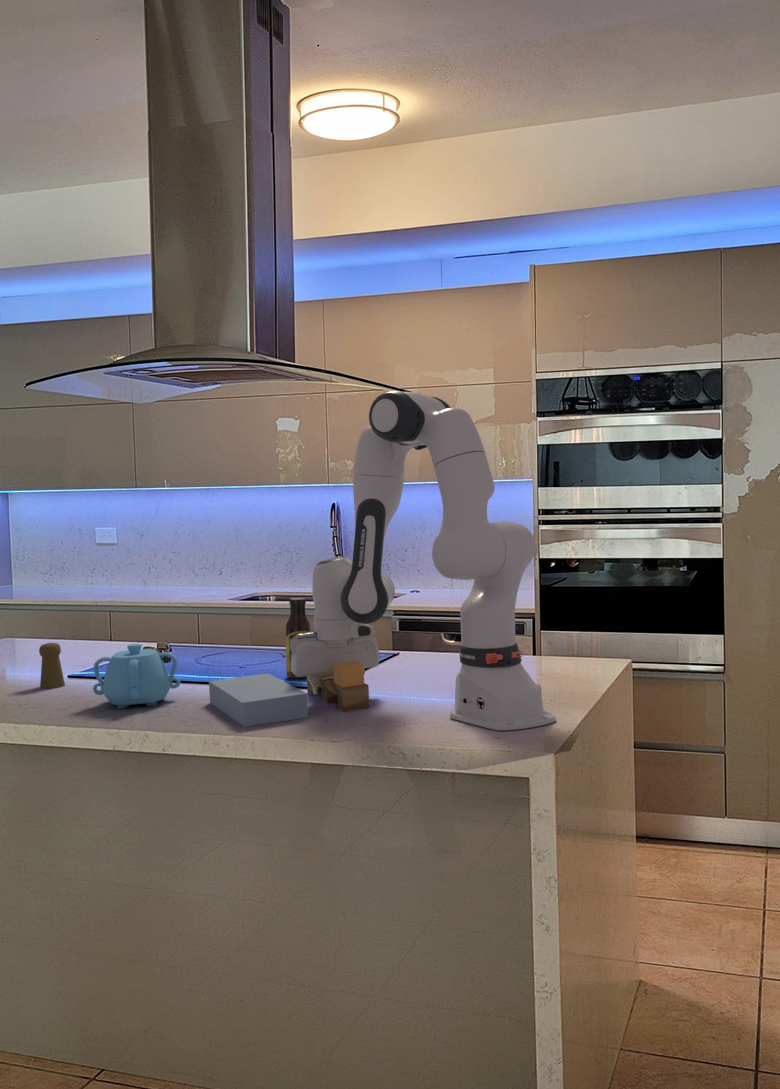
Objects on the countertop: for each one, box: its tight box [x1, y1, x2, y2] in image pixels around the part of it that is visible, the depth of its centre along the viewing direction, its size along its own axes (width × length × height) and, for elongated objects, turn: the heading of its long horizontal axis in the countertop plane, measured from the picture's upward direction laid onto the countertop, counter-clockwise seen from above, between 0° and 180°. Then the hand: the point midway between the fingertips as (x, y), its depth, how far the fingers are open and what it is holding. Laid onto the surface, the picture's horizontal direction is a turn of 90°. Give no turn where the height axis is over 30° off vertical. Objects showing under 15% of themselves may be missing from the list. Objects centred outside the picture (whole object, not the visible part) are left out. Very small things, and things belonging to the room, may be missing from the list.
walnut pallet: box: [306, 674, 370, 713], centre depth 227 cm, size 22×6×5 cm, turn 25°
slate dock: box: [208, 673, 309, 728], centre depth 221 cm, size 26×14×5 cm, turn 25°
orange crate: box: [333, 660, 365, 687], centre depth 220 cm, size 5×5×4 cm
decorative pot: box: [92, 643, 181, 709], centre depth 234 cm, size 16×16×14 cm
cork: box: [38, 642, 66, 690], centre depth 257 cm, size 6×6×11 cm
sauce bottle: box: [285, 597, 311, 679], centre depth 254 cm, size 6×6×20 cm
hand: (336, 691), depth 227 cm, fingers open, 8 cm apart
